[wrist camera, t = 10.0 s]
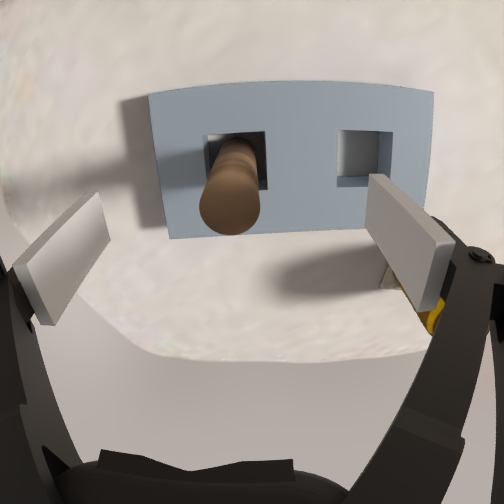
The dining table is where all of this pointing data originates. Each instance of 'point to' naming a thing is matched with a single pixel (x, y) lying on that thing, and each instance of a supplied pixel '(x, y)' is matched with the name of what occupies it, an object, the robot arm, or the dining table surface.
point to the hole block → (290, 148)
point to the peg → (232, 189)
